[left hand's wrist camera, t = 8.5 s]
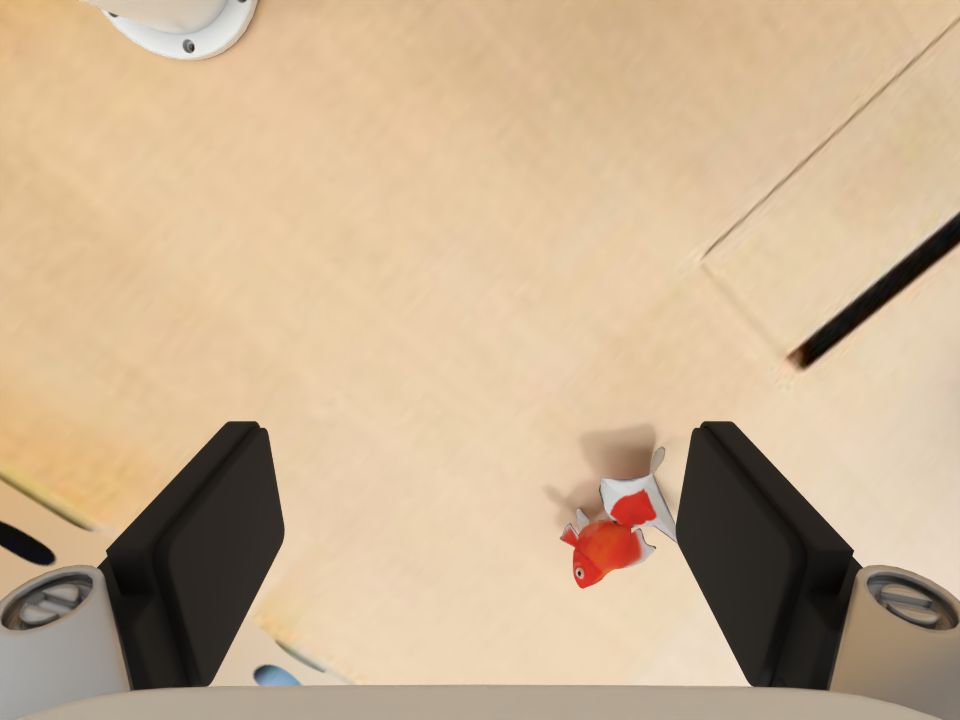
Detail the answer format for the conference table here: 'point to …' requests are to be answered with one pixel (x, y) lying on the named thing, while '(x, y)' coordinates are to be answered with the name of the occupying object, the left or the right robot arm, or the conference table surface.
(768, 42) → the conference table surface
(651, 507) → the fish
